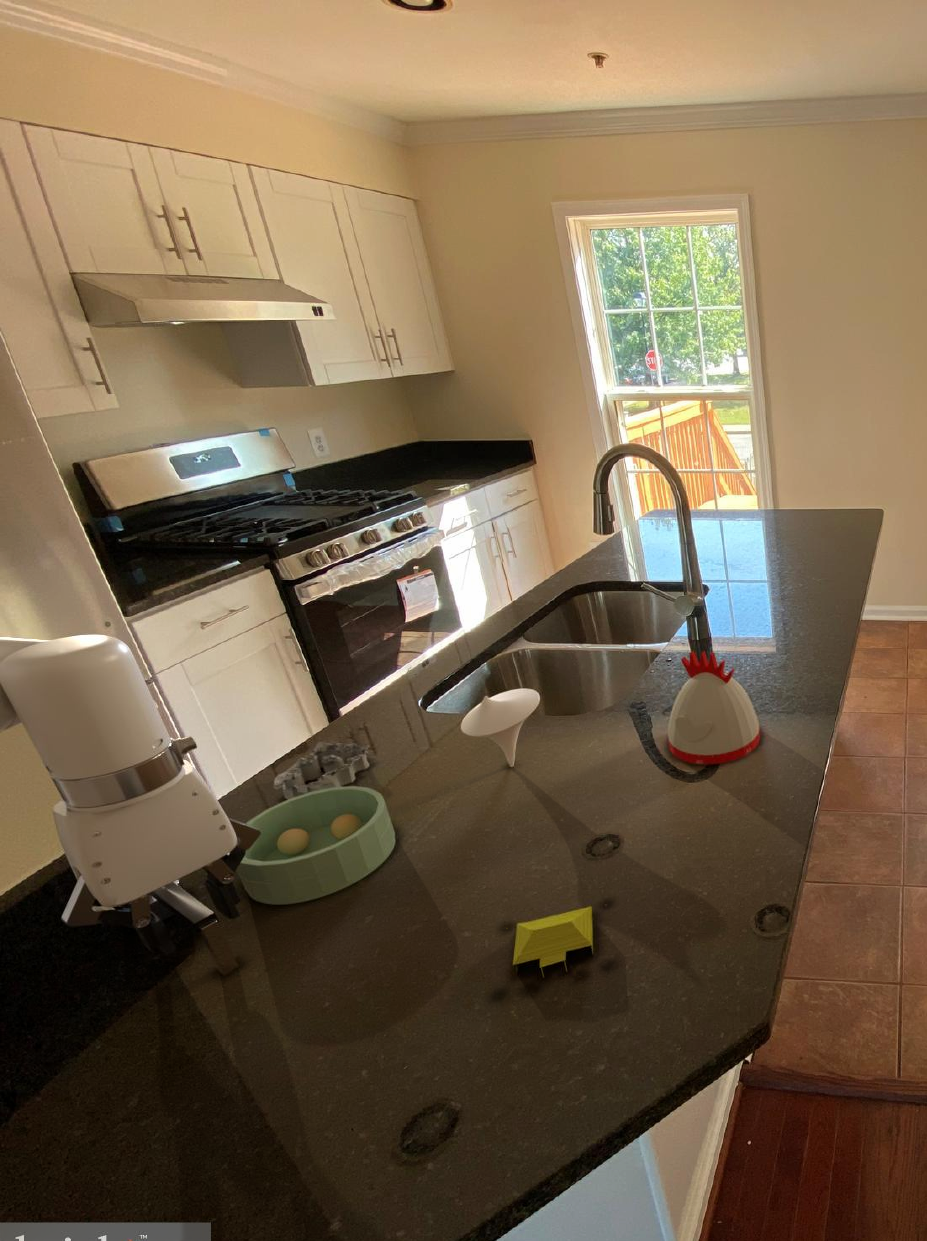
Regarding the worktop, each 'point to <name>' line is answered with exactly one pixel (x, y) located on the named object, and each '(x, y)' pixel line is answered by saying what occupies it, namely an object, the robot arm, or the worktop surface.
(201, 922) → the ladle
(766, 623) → the worktop surface
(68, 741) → the robot arm
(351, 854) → the bowl
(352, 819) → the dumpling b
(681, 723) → the kitchen timer
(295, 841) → the orange-brown rounded ball
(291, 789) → the egg carton
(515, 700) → the white spinning top
